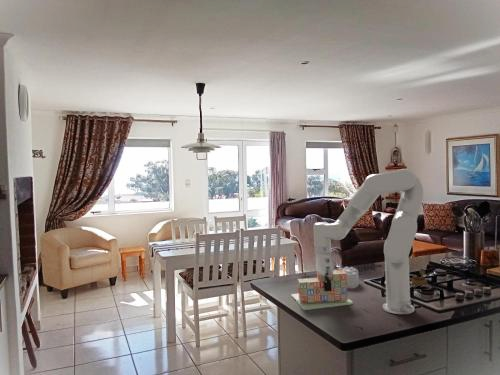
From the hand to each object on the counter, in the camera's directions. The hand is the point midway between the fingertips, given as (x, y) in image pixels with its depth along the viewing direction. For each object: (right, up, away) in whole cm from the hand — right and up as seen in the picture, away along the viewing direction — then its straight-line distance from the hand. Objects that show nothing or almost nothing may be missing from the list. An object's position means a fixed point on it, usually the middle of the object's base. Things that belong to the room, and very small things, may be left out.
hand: (324, 288), depth 172 cm
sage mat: (0, -7, 0) cm, 7 cm away
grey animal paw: (+18, -6, +27) cm, 33 cm away
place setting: (+54, -5, +19) cm, 57 cm away
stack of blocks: (-1, -5, 0) cm, 6 cm away
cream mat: (-2, -7, +11) cm, 13 cm away
